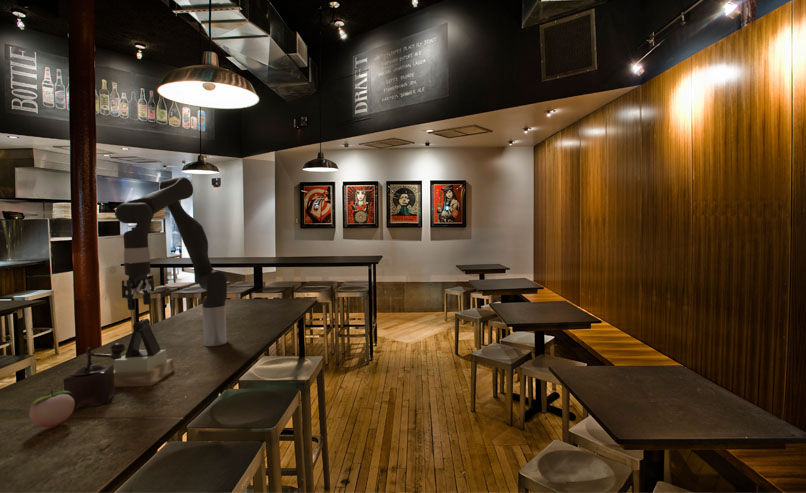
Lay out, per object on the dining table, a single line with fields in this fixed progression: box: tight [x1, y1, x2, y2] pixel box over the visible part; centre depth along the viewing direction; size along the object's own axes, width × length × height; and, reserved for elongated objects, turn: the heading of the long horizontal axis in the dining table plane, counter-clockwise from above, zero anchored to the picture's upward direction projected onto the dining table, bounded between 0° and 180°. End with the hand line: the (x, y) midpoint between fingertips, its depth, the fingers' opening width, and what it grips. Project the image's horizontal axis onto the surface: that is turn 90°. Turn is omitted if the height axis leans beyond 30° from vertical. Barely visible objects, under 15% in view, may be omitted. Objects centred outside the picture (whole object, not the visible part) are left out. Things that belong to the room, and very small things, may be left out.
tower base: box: [114, 358, 175, 387], centre depth 143 cm, size 14×14×5 cm
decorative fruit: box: [28, 390, 75, 429], centre depth 108 cm, size 9×8×10 cm
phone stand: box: [124, 317, 162, 358], centre depth 143 cm, size 9×6×12 cm, turn 99°
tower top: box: [113, 349, 167, 372], centre depth 143 cm, size 11×11×4 cm
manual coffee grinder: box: [63, 342, 126, 410], centre depth 125 cm, size 16×11×18 cm
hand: (139, 307), depth 142 cm, fingers open, 8 cm apart
